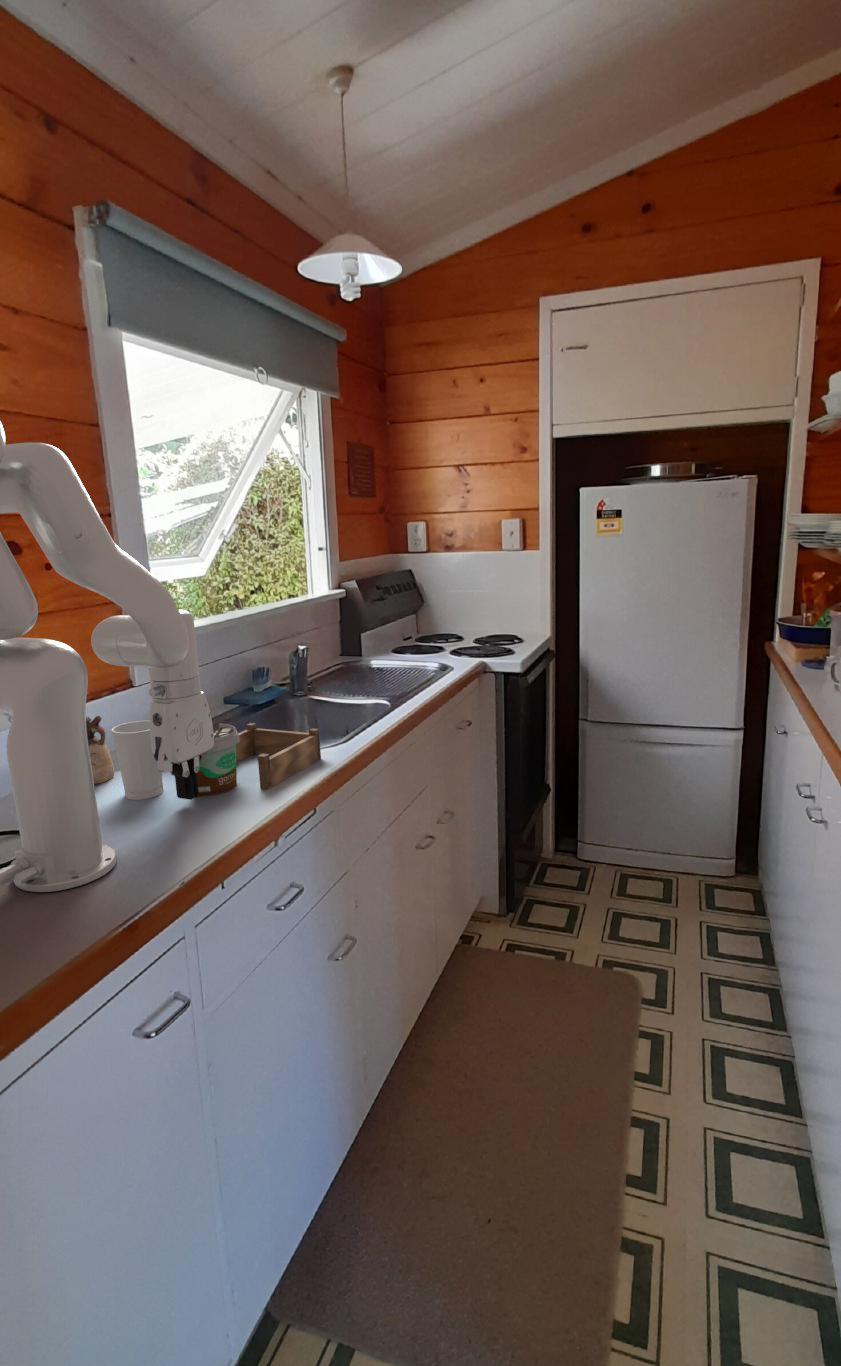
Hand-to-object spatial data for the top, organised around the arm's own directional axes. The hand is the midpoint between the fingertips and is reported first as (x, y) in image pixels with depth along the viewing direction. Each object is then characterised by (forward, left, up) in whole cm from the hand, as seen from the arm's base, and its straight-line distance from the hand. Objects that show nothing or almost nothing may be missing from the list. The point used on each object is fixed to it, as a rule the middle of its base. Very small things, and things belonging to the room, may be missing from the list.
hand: (188, 796), depth 121 cm
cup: (+3, +12, -2) cm, 12 cm away
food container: (+9, 0, -2) cm, 9 cm away
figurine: (+6, +27, -2) cm, 28 cm away
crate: (+20, 0, -2) cm, 20 cm away
